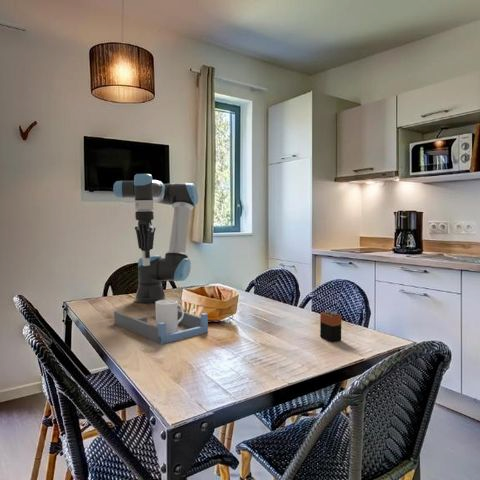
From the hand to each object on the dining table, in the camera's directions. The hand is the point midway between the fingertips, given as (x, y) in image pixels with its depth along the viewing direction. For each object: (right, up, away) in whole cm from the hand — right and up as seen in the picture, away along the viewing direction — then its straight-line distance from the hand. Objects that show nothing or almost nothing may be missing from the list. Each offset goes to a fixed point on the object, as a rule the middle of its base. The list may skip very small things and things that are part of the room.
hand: (146, 265), depth 170 cm
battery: (+73, -24, -30) cm, 82 cm away
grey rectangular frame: (+8, -24, -14) cm, 29 cm away
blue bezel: (+20, -24, -28) cm, 42 cm away
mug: (+14, -24, -22) cm, 35 cm away
